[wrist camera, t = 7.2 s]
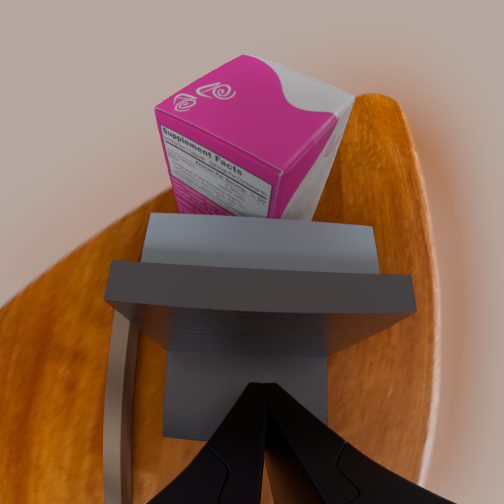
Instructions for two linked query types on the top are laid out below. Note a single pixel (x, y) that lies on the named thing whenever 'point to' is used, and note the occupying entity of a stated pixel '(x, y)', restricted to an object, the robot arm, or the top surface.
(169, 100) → the supplement box
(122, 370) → the rail
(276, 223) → the book
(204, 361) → the bookend
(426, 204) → the top surface
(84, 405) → the top surface
